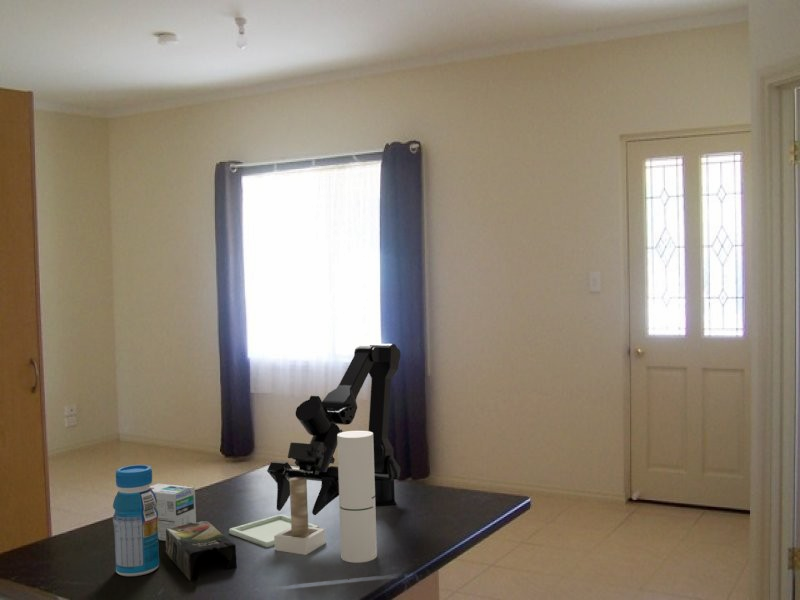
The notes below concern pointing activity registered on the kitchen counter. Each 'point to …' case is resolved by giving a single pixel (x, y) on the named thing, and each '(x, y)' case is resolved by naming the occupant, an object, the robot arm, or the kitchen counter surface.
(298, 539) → the holder
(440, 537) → the kitchen counter surface
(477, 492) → the kitchen counter surface
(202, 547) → the juice carton
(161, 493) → the light bulb box
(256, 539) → the tray
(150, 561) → the beverage bottle
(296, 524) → the dowel
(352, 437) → the cylindrical container
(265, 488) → the kitchen counter surface
